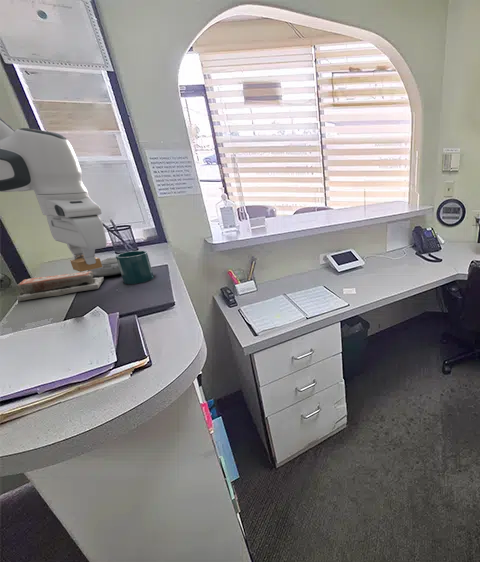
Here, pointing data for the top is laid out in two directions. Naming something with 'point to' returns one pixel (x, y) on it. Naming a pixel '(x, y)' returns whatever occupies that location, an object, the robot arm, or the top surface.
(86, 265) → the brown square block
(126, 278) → the tea cup
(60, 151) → the robot arm
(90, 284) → the packaged product
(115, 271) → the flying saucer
